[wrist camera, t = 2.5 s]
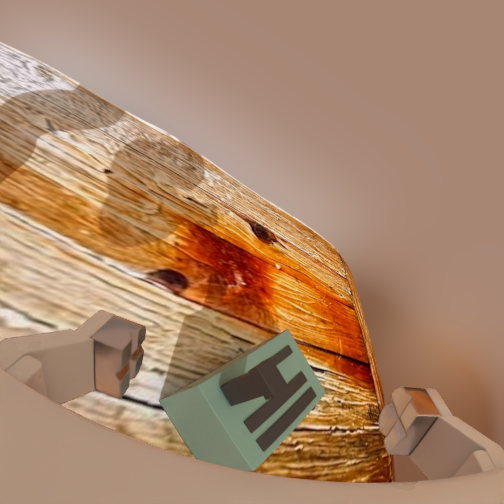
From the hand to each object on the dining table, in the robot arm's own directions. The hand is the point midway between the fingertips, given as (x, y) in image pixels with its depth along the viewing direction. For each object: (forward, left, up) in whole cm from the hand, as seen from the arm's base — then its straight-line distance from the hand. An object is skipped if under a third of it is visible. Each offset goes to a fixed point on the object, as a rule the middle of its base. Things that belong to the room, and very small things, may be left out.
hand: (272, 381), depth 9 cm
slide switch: (+3, +14, -19) cm, 24 cm away
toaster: (+6, +20, -28) cm, 35 cm away
